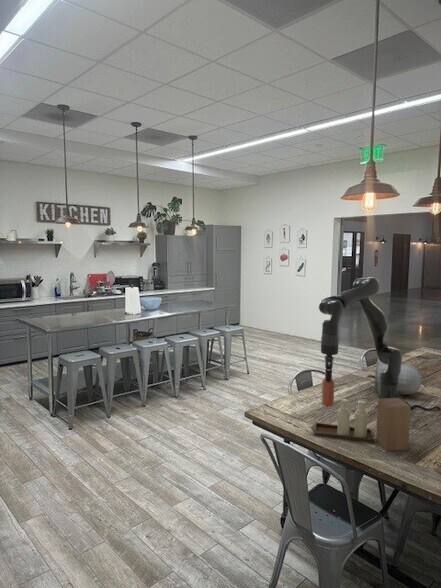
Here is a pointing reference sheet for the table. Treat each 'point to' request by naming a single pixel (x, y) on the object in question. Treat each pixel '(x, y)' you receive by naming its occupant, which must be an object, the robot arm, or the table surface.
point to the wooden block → (393, 424)
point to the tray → (331, 432)
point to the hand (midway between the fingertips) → (328, 379)
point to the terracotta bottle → (327, 391)
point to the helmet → (400, 378)
